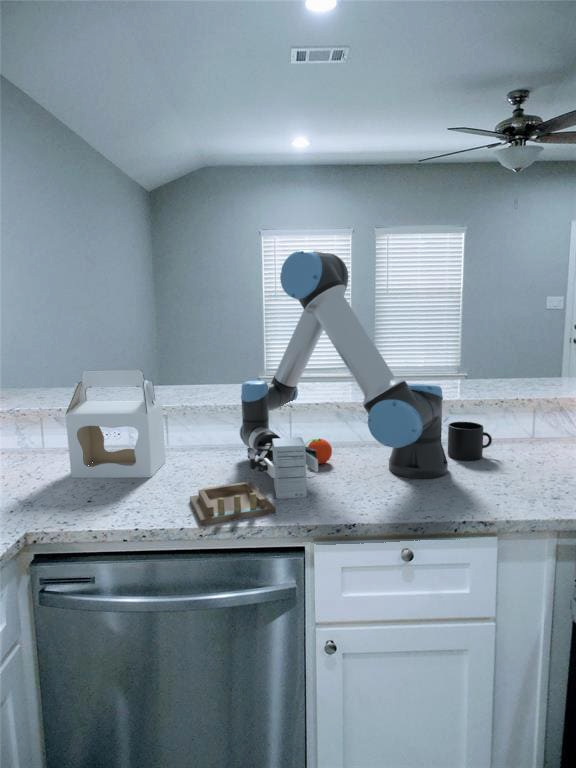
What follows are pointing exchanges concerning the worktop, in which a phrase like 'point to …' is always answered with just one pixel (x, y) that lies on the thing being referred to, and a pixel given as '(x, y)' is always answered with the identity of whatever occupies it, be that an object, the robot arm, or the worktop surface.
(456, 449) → the mug
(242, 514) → the brown shallow tray
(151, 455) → the gable box
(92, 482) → the worktop surface
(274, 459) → the supplement box
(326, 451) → the clementine
